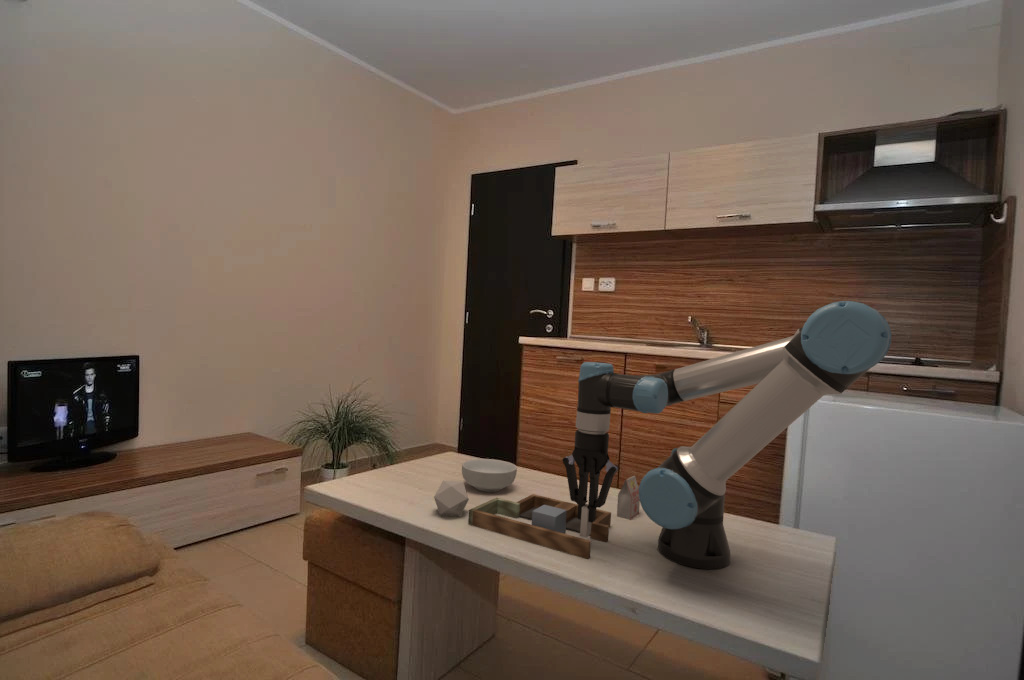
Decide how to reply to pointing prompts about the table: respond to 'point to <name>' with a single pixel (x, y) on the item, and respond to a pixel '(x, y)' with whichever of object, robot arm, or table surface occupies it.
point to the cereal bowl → (488, 474)
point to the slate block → (550, 518)
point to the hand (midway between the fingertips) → (585, 534)
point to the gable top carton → (628, 499)
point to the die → (451, 498)
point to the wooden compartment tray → (534, 534)
